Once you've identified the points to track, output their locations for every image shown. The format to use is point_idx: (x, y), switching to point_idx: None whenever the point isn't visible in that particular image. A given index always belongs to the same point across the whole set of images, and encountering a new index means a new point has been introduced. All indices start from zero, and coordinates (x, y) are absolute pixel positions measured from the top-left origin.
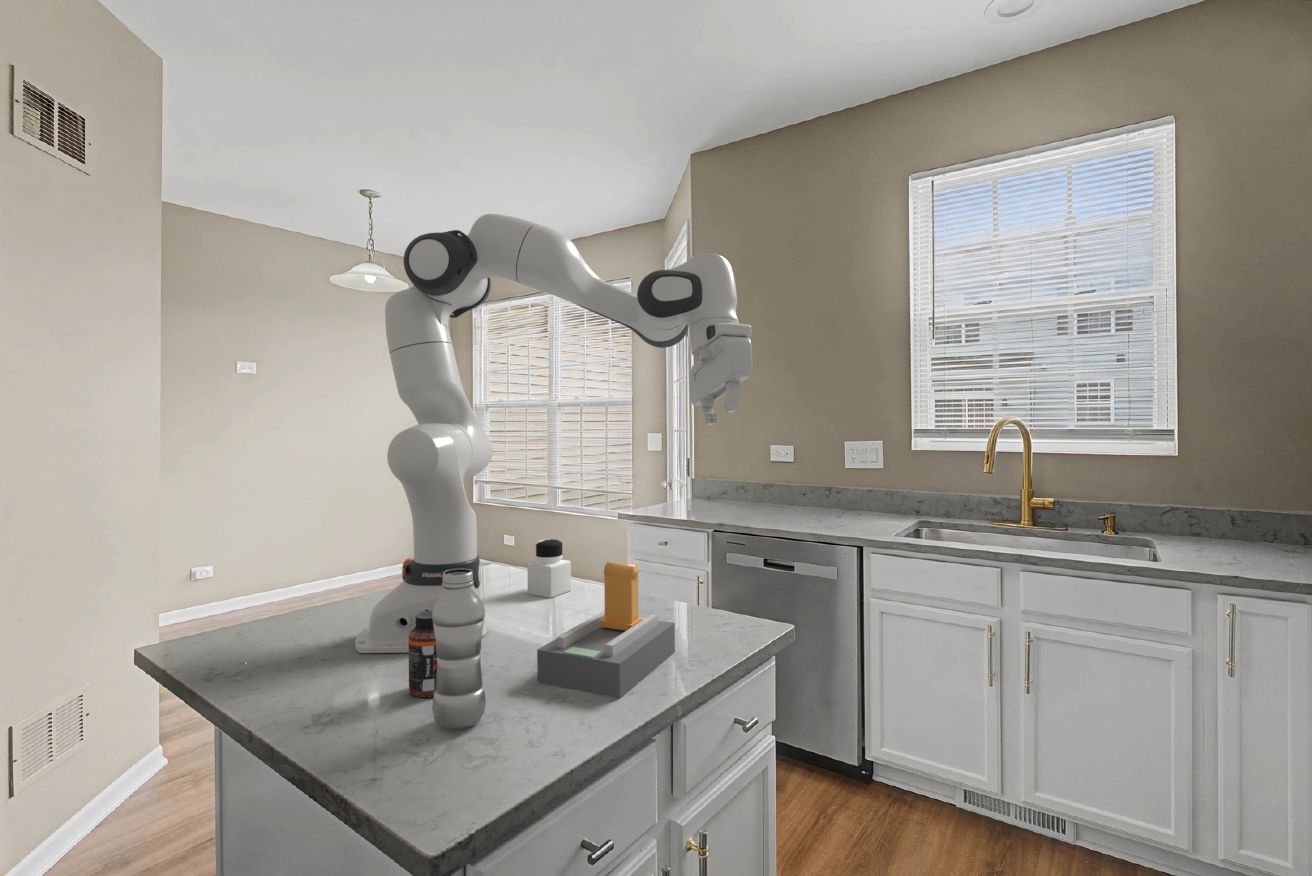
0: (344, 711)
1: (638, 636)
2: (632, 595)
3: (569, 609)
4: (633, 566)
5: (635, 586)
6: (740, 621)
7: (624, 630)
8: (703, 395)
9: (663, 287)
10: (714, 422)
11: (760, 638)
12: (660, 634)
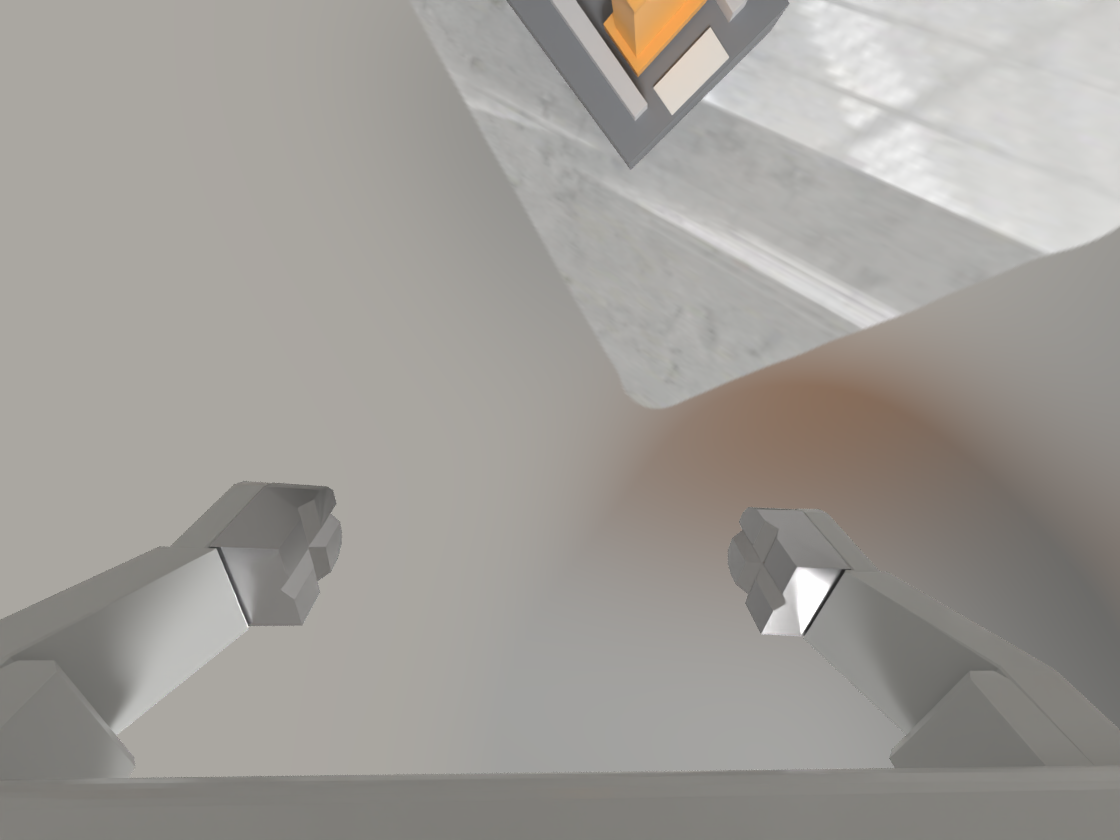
0: None
1: (573, 33)
2: (613, 3)
3: (1083, 8)
4: None
5: (624, 12)
6: (707, 364)
7: None
8: (941, 781)
9: None
10: (731, 545)
11: (618, 344)
12: (583, 102)
